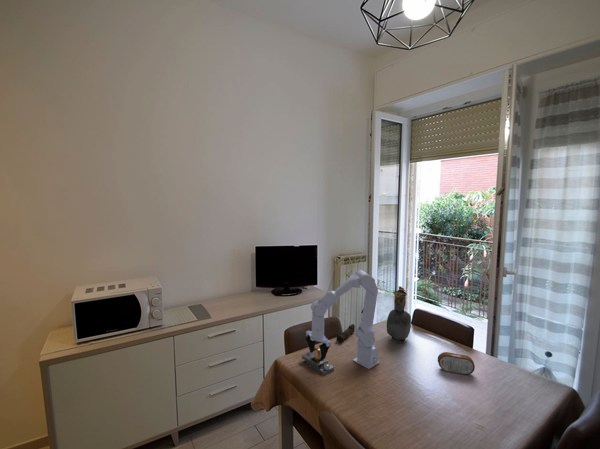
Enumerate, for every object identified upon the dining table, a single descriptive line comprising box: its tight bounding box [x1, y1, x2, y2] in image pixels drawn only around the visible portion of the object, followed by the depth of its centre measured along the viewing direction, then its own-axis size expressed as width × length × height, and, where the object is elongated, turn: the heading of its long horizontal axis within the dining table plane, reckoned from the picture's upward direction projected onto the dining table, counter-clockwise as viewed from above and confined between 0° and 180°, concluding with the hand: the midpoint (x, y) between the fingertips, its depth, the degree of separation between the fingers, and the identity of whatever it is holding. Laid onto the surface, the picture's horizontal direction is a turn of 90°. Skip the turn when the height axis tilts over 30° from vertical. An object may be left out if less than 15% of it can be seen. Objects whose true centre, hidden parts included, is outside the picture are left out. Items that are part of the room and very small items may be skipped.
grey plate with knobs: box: [301, 351, 335, 376], centre depth 140 cm, size 15×7×3 cm, turn 41°
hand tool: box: [336, 323, 356, 344], centre depth 170 cm, size 19×4×5 cm, turn 142°
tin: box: [437, 351, 476, 376], centre depth 136 cm, size 15×3×8 cm, turn 71°
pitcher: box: [386, 286, 412, 344], centre depth 167 cm, size 11×19×30 cm, turn 147°
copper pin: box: [314, 347, 321, 363], centre depth 140 cm, size 3×3×8 cm
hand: (317, 355), depth 140 cm, fingers open, 7 cm apart
